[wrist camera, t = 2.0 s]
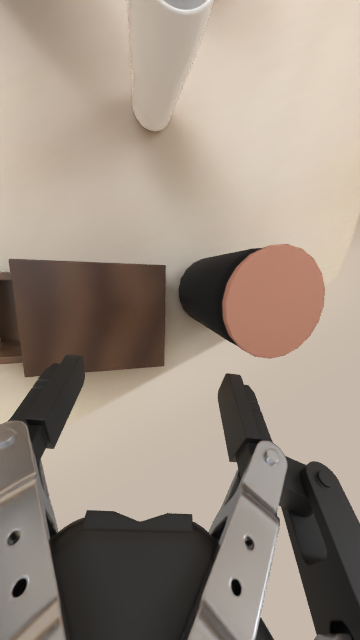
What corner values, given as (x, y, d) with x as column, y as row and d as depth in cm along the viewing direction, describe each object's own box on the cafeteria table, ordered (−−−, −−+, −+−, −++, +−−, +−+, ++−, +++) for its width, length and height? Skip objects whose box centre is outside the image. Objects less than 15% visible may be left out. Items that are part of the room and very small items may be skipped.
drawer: (-54, 351, 28) (-119, 379, 20) (-73, 264, 26) (-154, 259, 18) (96, 344, 32) (87, 364, 25) (91, 269, 30) (80, 267, 23)
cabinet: (53, 348, 32) (24, 377, 23) (44, 263, 29) (8, 258, 20) (154, 342, 36) (164, 366, 27) (154, 267, 33) (165, 265, 24)
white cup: (164, 150, 30) (198, 39, 16) (118, 119, 28) (111, -40, 14) (183, 103, 29) (236, -57, 15) (138, 68, 27) (151, -156, 13)
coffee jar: (185, 327, 37) (236, 374, 20) (169, 267, 34) (214, 260, 17) (238, 310, 38) (328, 339, 21) (228, 251, 36) (322, 231, 19)
